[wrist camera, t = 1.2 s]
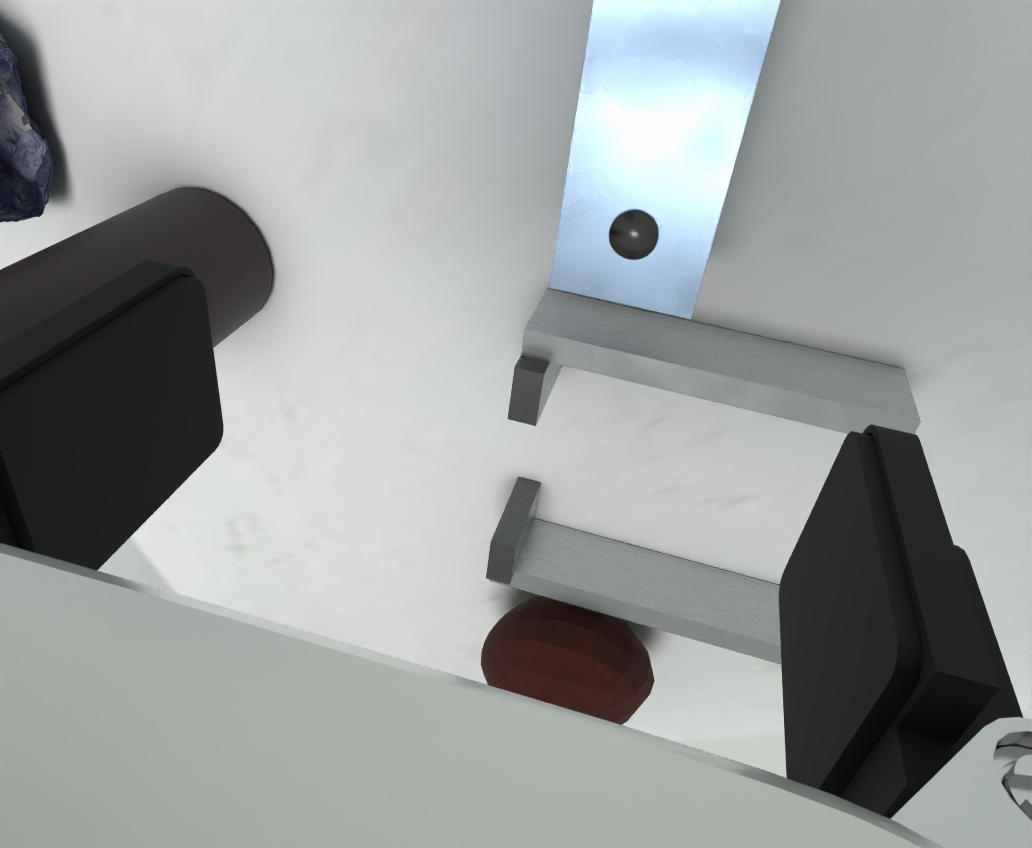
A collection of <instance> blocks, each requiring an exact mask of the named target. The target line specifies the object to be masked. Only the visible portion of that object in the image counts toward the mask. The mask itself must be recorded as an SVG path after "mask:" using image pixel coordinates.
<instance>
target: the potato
mask: <svg viewBox="0 0 1032 848" xmlns="http://www.w3.org/2000/svg"><path fill="white" fill-rule="evenodd" d="M481 666H482V670H483V673H484V676H485V679H486V681H487V684H488V685H489V686H492V687H496V688H499V689H503V690H506V691H509V692H513V693H516V694H519V695H523V696H526V697H529V698H533V699H536V700H539V701H543V702H546V703H549V704H553V705H556V706H559V707H563V708H566V709H569V710H573V711H576V712H579V713H583V714H586V715H589V716H593V717H596V718H600V719H603V720H606V721H610V722H613V723H616V724H620V725H622V724H623V723H625V722H627V721H628V720H629V718H630V717H631V716H632V715H633V714H634V713H635V712H636V710H637V709H638V708H639V707H640V706H641V704H642V703H643V702H644V701H645V700H646V698H647V697H648V696H649V695H650V693H651V690H652V687H653V683H654V676H653V672H652V667H651V663H650V659H649V655H648V652H647V650H646V649H645V647H644V646H643V644H642V643H641V642H640V640H639V639H638V638H637V636H636V635H635V634H634V632H633V631H632V630H631V628H630V627H629V626H628V625H627V624H626V623H625V622H624V621H622V620H621V619H620V618H617V617H614V616H610V615H607V614H604V613H600V612H597V611H593V610H590V609H586V608H583V607H579V606H576V605H572V604H569V603H565V602H562V601H558V600H555V599H551V598H548V597H544V596H541V597H537V598H533V599H531V600H529V601H527V602H525V603H522V604H520V605H518V606H517V607H515V608H514V609H512V610H511V611H509V612H508V613H507V614H505V615H504V616H503V617H502V618H501V619H500V620H499V621H498V622H497V623H496V625H495V626H494V627H493V628H492V630H491V631H490V632H489V634H488V636H487V638H486V640H485V642H484V645H483V649H482V654H481Z"/></svg>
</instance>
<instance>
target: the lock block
mask: <svg viewBox="0 0 1032 848" xmlns="http://www.w3.org/2000/svg"><path fill="white" fill-rule="evenodd" d="M780 1H781V0H594V2H593V8H592V15H591V21H590V28H589V34H588V41H587V47H586V54H585V60H584V67H583V73H582V79H581V86H580V92H579V99H578V105H577V112H576V118H575V125H574V131H573V138H572V144H571V150H570V157H569V163H568V170H567V176H566V183H565V189H564V196H563V202H562V208H561V215H560V221H559V228H558V234H557V241H556V247H555V254H554V260H553V267H552V273H551V279H550V286H549V287H550V288H554V289H559V290H563V291H567V292H572V293H576V294H581V295H585V296H590V297H594V298H599V299H603V300H607V301H612V302H616V303H621V304H625V305H630V306H634V307H639V308H643V309H648V310H652V311H656V312H661V313H665V314H670V315H674V316H679V317H683V318H688V319H691V317H692V314H693V310H694V307H695V303H696V299H697V296H698V292H699V289H700V285H701V282H702V278H703V275H704V271H705V267H706V264H707V260H708V257H709V253H710V250H711V246H712V242H713V239H714V235H715V232H716V228H717V225H718V221H719V218H720V214H721V210H722V207H723V203H724V200H725V196H726V193H727V189H728V186H729V182H730V178H731V175H732V171H733V168H734V164H735V161H736V157H737V154H738V150H739V146H740V143H741V139H742V136H743V132H744V129H745V125H746V122H747V118H748V114H749V111H750V107H751V104H752V100H753V97H754V93H755V89H756V86H757V82H758V79H759V75H760V72H761V68H762V65H763V61H764V57H765V54H766V50H767V47H768V43H769V40H770V36H771V33H772V29H773V25H774V22H775V18H776V15H777V11H778V8H779V4H780Z"/></svg>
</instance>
